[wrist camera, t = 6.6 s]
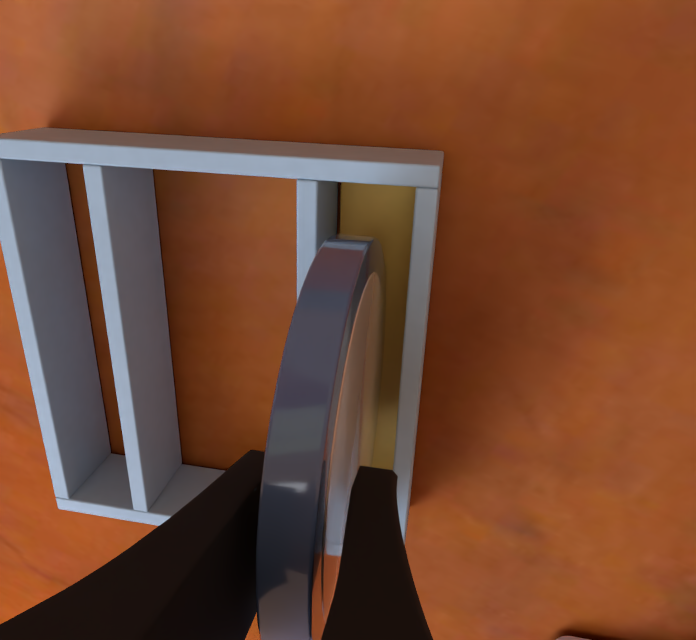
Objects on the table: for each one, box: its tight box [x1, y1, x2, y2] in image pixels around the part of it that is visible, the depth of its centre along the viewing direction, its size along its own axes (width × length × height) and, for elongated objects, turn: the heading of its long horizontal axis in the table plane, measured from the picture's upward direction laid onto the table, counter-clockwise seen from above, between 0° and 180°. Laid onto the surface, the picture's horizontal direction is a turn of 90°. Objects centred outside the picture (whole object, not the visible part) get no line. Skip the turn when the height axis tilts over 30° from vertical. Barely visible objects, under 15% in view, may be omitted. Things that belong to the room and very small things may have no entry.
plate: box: [255, 233, 386, 640], centre depth 13 cm, size 9×1×9 cm, turn 178°
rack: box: [0, 127, 444, 546], centre depth 17 cm, size 12×11×2 cm
